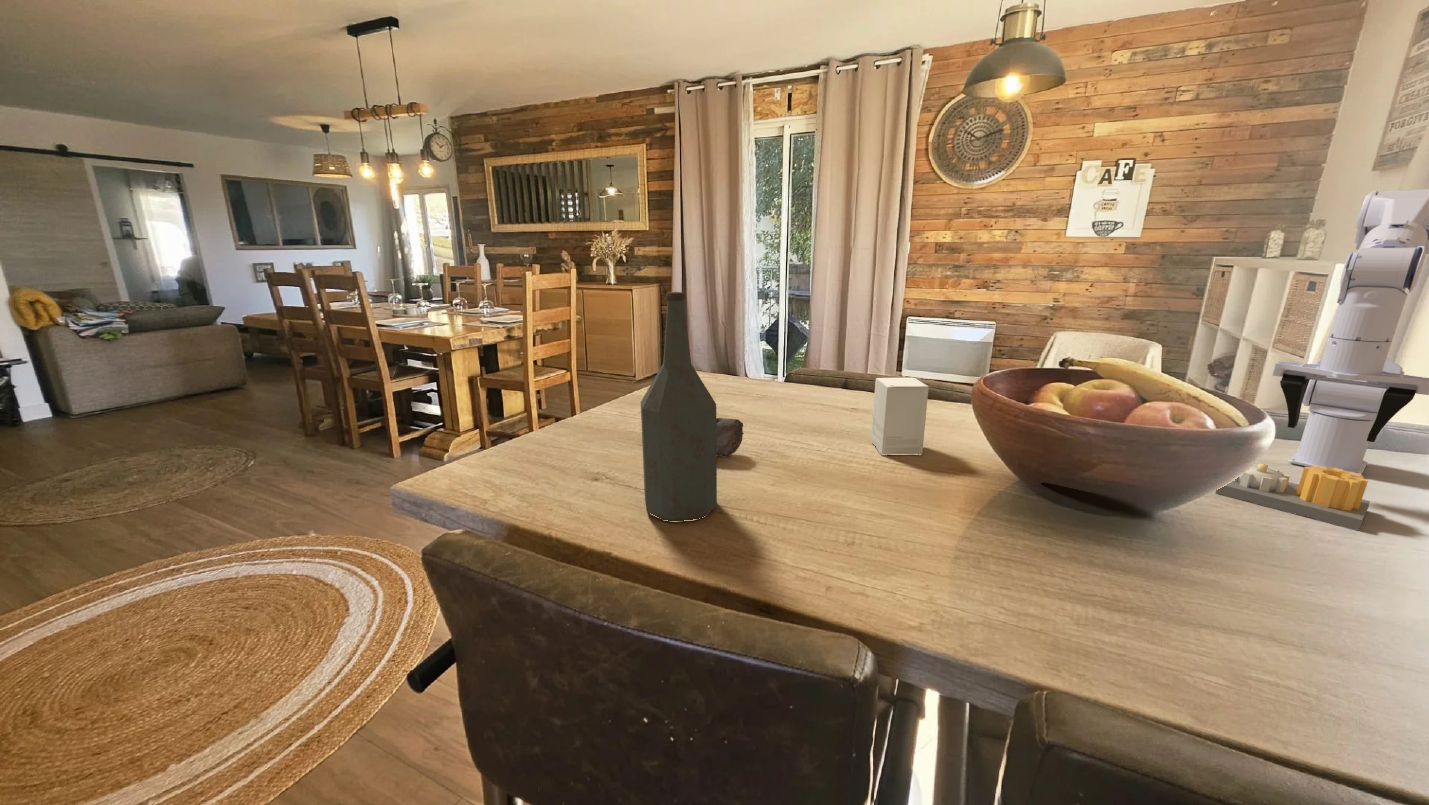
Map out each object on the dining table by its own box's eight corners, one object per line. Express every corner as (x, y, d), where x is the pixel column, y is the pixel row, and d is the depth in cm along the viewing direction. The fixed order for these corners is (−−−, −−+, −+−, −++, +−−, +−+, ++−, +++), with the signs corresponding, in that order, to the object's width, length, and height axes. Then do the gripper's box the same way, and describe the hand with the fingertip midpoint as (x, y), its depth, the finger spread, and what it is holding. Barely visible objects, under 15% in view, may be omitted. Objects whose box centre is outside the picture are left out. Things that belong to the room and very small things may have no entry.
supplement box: (923, 456, 96) (930, 386, 92) (880, 456, 96) (886, 386, 93) (909, 442, 103) (915, 376, 100) (869, 442, 103) (874, 376, 100)
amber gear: (1300, 488, 79) (1308, 462, 78) (1361, 502, 74) (1370, 475, 73) (1292, 499, 75) (1300, 472, 74) (1355, 514, 71) (1365, 486, 70)
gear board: (1231, 478, 86) (1239, 448, 85) (1366, 511, 75) (1378, 477, 74) (1215, 493, 81) (1223, 461, 79) (1358, 530, 70) (1370, 494, 69)
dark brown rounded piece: (655, 457, 96) (653, 419, 94) (663, 447, 101) (662, 411, 99) (739, 463, 93) (739, 424, 91) (744, 452, 98) (744, 415, 96)
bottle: (630, 507, 77) (619, 292, 69) (680, 486, 84) (675, 287, 76) (680, 532, 71) (675, 296, 63) (730, 506, 78) (731, 291, 69)
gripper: (1279, 335, 78) (1254, 426, 82) (1445, 349, 67) (1407, 453, 70) (1289, 330, 82) (1265, 417, 86) (1447, 343, 71) (1411, 442, 74)
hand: (1330, 433), depth 78 cm, fingers open, 7 cm apart
